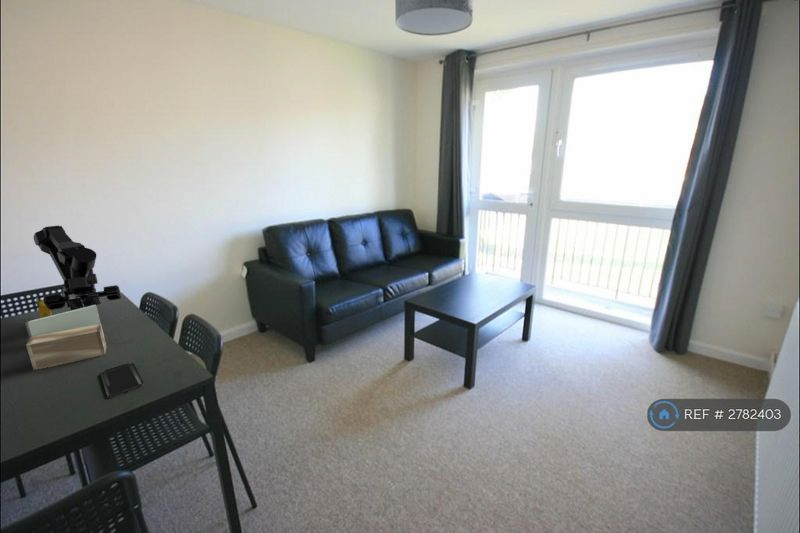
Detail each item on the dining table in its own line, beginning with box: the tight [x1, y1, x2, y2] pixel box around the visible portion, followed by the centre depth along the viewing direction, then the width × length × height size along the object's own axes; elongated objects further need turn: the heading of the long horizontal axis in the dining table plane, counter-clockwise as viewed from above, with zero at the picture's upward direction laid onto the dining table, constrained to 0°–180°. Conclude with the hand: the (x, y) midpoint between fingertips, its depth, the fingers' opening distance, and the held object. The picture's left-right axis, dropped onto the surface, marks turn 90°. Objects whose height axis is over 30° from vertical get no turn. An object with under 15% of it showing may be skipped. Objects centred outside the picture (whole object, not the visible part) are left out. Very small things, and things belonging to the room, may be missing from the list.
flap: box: [24, 305, 102, 339], centre depth 113 cm, size 1×16×12 cm, turn 145°
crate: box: [25, 324, 107, 371], centre depth 109 cm, size 6×16×8 cm, turn 125°
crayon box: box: [35, 296, 54, 319], centre depth 126 cm, size 7×3×12 cm, turn 42°
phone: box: [99, 362, 145, 399], centre depth 100 cm, size 8×1×15 cm
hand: (86, 320), depth 117 cm, fingers closed
